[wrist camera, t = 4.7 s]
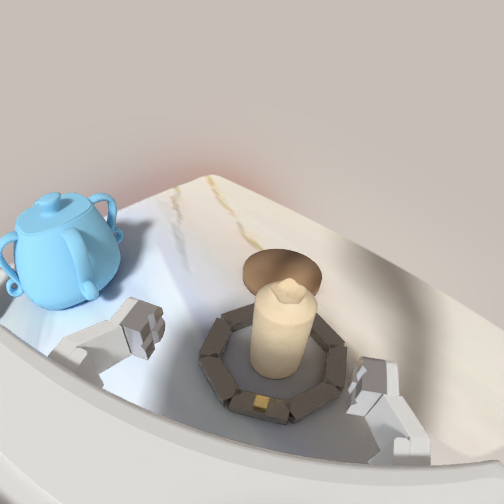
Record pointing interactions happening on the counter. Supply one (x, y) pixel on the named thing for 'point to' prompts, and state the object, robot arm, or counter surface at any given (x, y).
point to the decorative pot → (63, 250)
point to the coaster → (280, 270)
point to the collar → (263, 404)
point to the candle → (281, 328)
